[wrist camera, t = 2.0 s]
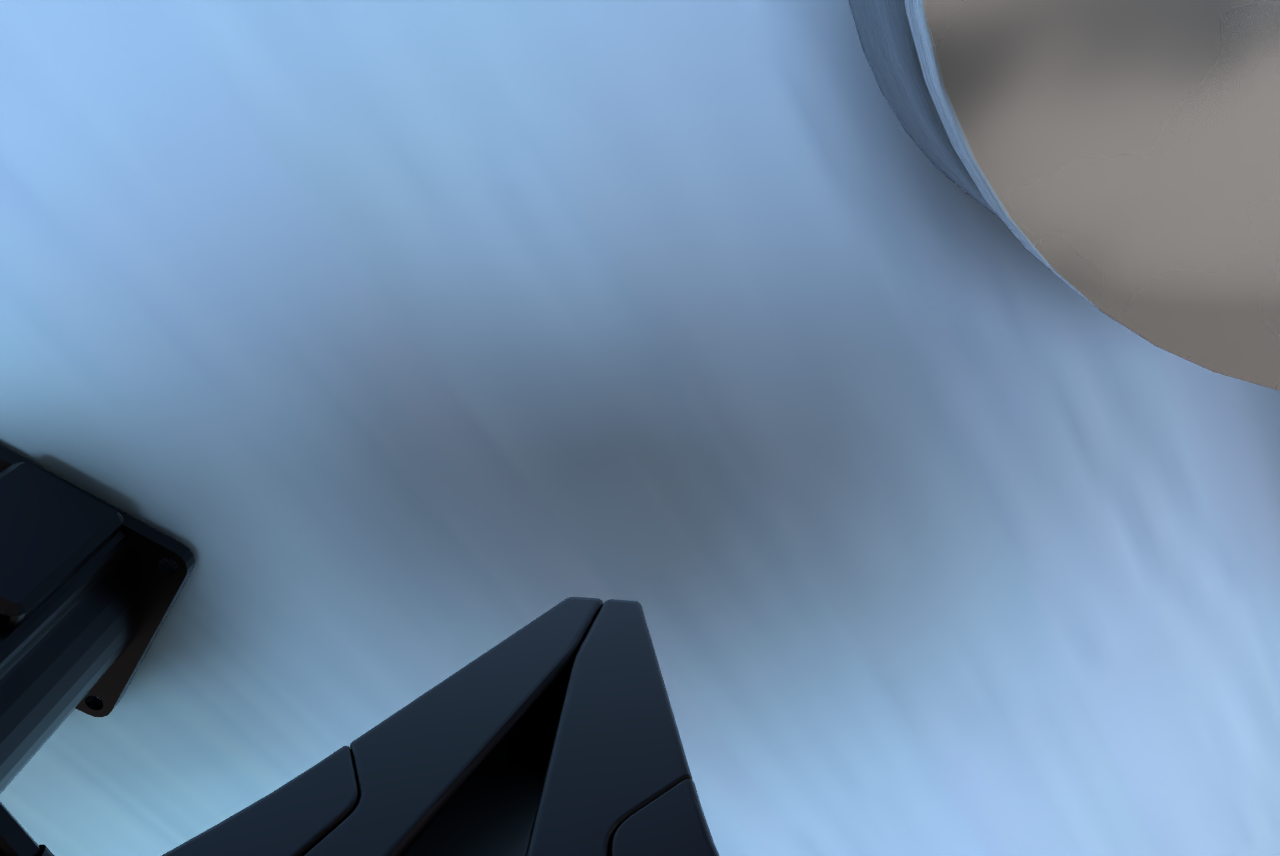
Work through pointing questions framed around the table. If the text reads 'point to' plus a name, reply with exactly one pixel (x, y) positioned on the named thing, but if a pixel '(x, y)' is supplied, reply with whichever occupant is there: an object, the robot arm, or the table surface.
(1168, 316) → the lid
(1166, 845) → the table surface
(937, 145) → the dark grey curved piece
